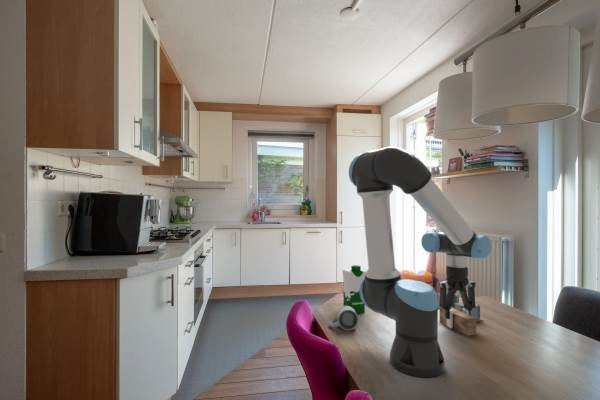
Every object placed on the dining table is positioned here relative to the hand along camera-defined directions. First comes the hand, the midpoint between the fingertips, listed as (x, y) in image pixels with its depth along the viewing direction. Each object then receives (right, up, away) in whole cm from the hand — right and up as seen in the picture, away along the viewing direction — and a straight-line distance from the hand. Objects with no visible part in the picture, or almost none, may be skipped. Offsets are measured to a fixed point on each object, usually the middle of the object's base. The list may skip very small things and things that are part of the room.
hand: (457, 326), depth 120 cm
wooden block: (0, -1, 0) cm, 1 cm away
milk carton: (-36, -1, +20) cm, 41 cm away
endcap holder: (+8, -1, +16) cm, 18 cm away
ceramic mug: (-43, -1, +1) cm, 43 cm away
